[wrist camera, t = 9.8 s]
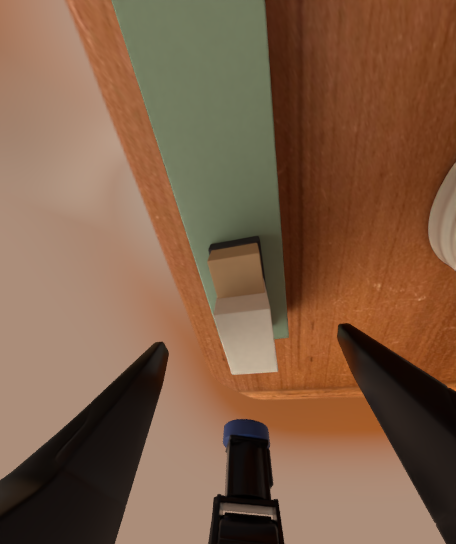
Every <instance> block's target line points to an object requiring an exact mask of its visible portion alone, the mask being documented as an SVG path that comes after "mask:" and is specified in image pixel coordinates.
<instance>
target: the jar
mask: <svg viewBox="0 0 456 544" xmlns="http://www.w3.org/2000/svg"><path fill="white" fill-rule="evenodd" d="M428 234H429V240H430V244H431V247H432V249H433V251H434V252H435V254H436V255H437V256H438V258H439V259H440V260H441V261H443V262H444V263H445V264H447V265H449V266H451V267H452V268H453V269H454V270H455V271H456V162H455V164H454V165H453V167H452V168H451V170H450V171H449V173H448V174H447V176H446V177H445V179H444V181H443V183H442V185H441V186H440V189H439V191H438V193H437V195H436V197H435V200H434V202H433V205H432V209H431V213H430V217H429V225H428Z"/></svg>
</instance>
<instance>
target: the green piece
mask: <svg viewBox="0 0 456 544" xmlns="http://www.w3.org/2000/svg"><path fill="white" fill-rule="evenodd" d="M111 1H112V4H113V7H114V10H115V13H116V16H117V19H118V22H119V25H120V29H121V32H122V35H123V38H124V41H125V44H126V47H127V50H128V53H129V57H130V60H131V63H132V66H133V69H134V72H135V75H136V78H137V82H138V85H139V88H140V91H141V94H142V97H143V100H144V103H145V106H146V110H147V113H148V116H149V119H150V122H151V125H152V128H153V131H154V134H155V138H156V141H157V144H158V147H159V150H160V153H161V156H162V159H163V162H164V166H165V169H166V172H167V175H168V178H169V181H170V184H171V187H172V190H173V194H174V197H175V200H176V203H177V206H178V209H179V212H180V215H181V219H182V222H183V225H184V228H185V231H186V234H187V237H188V240H189V243H190V247H191V250H192V253H193V256H194V259H195V262H196V265H197V268H198V271H199V275H200V278H201V281H202V284H203V287H204V290H205V293H206V296H207V299H208V303H209V306H210V309H211V312H212V315H213V313H214V308H215V303H216V298H217V294H216V291H215V287H214V284H213V280H212V277H211V273H210V270H209V266H208V263H207V261H208V258H209V256H210V255H209V251H208V249H209V247H210V245H211V244H215V243H220V242H226V241H231V240H237V239H242V238H248V237H253V236H259V238H260V243H261V250H262V258H263V266H264V274H265V281H266V289H267V296H268V301H269V305H270V310H271V318H272V326H273V334H274V339H280V338H289V332H288V318H287V303H286V289H285V275H284V261H283V247H282V232H281V218H280V204H279V190H278V176H277V161H276V147H275V133H274V119H273V105H272V90H271V76H270V62H269V48H268V33H267V19H266V5H265V0H111ZM213 318H214V317H213ZM214 321H215V320H214ZM215 324H216V323H215ZM216 328H217V326H216ZM217 331H218V329H217ZM218 334H219V332H218ZM219 337H220V335H219ZM220 340H221V338H220ZM221 343H222V342H221Z"/></svg>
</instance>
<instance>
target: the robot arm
mask: <svg viewBox="0 0 456 544" xmlns="http://www.w3.org/2000/svg"><path fill="white" fill-rule="evenodd" d="M337 339H338V342H339V344H340V347H341V349H342V351H343V354H344V356H345V358H346V361H347V363H348V365H349V368H350V370H351V372H352V374H353V376H354V378H355V380H356V382H357V384H358V385H359V387H360V389H361V391H362V393H363V394H364V396H365V398H366V400H367V402H368V403H369V405H370V407H371V409H372V411H373V412H374V414H375V416H376V418H377V420H378V421H379V423H380V425H381V427H382V429H383V430H384V432H385V434H386V436H387V438H388V439H389V441H390V443H391V445H392V447H393V448H394V450H395V452H396V454H397V456H398V457H399V459H400V461H401V463H402V465H403V467H404V468H405V470H406V472H407V474H408V476H409V477H410V479H411V481H412V483H413V485H414V486H415V488H416V490H417V492H418V494H419V495H420V497H421V499H422V500H423V503H424V504H425V506H426V508H427V510H428V512H429V513H430V515H431V517H432V519H433V521H434V522H435V523H436V526H437V528H438V530H439V532H440V534H441V535H442V537H443V539H444V541H445V543H446V544H456V391H454V390H452V389H451V388H448V387H447V386H446V385H445V384H443V383H441V382H440V381H438V380H437V379H435V378H434V377H432V376H430V375H429V374H427V373H426V372H424V371H423V370H421V369H420V368H418V367H416V366H415V365H413V364H412V363H410V362H409V361H407V360H405V359H404V358H402V357H401V356H399V355H398V354H396V353H394V352H393V351H391V350H390V349H388V348H387V347H385V346H384V345H382V344H380V343H379V342H377V341H376V340H374V339H373V338H371V337H369V336H368V335H366V334H365V333H363V332H362V331H360V330H358V329H357V328H355V327H354V326H352V325H351V324H349V323H344V324H339V325H338V333H337ZM168 356H169V353H168V350H167V348H166V346H165V344H164V343H163V342H156V343H154V344H153V345H152V346H151V347H150V348H149V349H148V350H147V351H145V353H143V354H142V355H141V356H140V357H139V358H138V359H137V360H136V361H135V362H134V363H133V364H132V365H130V366H129V367H128V368H127V369H126V370H125V371H124V372H123V373H122V374H121V375H120V376H119V377H118V378H117V379H116V380H115V381H113V382H112V383H111V384H110V385H109V386H108V387H107V388H106V389H105V390H104V391H103V392H102V393H101V394H100V395H98V397H97V398H95V399H94V400H93V401H92V402H91V404H89V405H88V406H87V407H86V408H85V409H84V410H83V411H81V412H80V413H79V414H78V415H77V416H76V417H75V418H74V419H73V420H72V421H70V422H69V423H68V424H67V425H66V426H65V427H64V428H63V429H62V430H60V431H59V432H58V433H57V434H56V435H55V436H53V437H52V438H51V439H50V440H49V441H48V442H46V443H45V444H44V445H43V446H42V447H41V448H39V449H38V450H37V451H36V452H35V453H33V454H32V455H31V456H30V457H29V458H28V459H26V460H25V461H24V462H23V463H22V464H20V466H18V467H17V468H16V469H15V470H13V471H12V472H11V473H10V474H8V475H7V476H6V477H4V478H3V479H1V480H0V544H115V541H116V538H117V534H118V531H119V527H120V524H121V521H122V518H123V514H124V511H125V508H126V504H127V501H128V497H129V494H130V491H131V488H132V484H133V481H134V478H135V474H136V471H137V468H138V464H139V461H140V458H141V455H142V451H143V448H144V445H145V441H146V438H147V434H148V432H149V428H150V425H151V421H152V418H153V415H154V412H155V408H156V405H157V402H158V399H159V395H160V392H161V389H162V385H163V381H164V376H165V371H166V366H167V361H168ZM268 445H269V440H267V439H261V438H254V437H246V436H239V435H230V436H229V440H228V443H227V446H226V453H227V465H226V485H225V496H223V495H221V494H218V495H217V497H214V502H213V513H212V522H211V528H210V535H209V542H208V544H284V538H283V531H282V525H281V517H280V511H279V503H278V499H274V500H271V494H270V489H271V487H272V486H273V477H272V468H271V459H270V450H269V448H267V447H268ZM223 510H225V511H236V512H246V513H257V514H268V515H273V520H272V519H271V517H268V516H258V515H247V514H237V513H227V512H226V513H225V515H223Z"/></svg>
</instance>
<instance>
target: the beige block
mask: <svg viewBox="0 0 456 544" xmlns="http://www.w3.org/2000/svg"><path fill="white" fill-rule="evenodd" d="M208 251H209V255H210V256H209V258H208V261H207V263H208V266H209V270H210V273H211V277H212V280H213V284H214V287H215V291H216V294H217V298H216V303H215V308H214V313H213V317H214V320H215V323H216V326H217V329H218V332H219V335H220V338H221V342H222V345H223V348H224V351H225V354H226V357H227V360H228V363H229V366H230V370H231V373H232V375H235V374H250V373H266V372H278V366H277V358H276V350H275V342H274V334H273V326H272V318H271V310H270V305H269V301H268V296H267V289H266V281H265V274H264V266H263V258H262V250H261V243H260V238H259V236H253V237H248V238H242V239H237V240H231V241H226V242H220V243H215V244H211V245H210V247H209V249H208Z"/></svg>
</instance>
